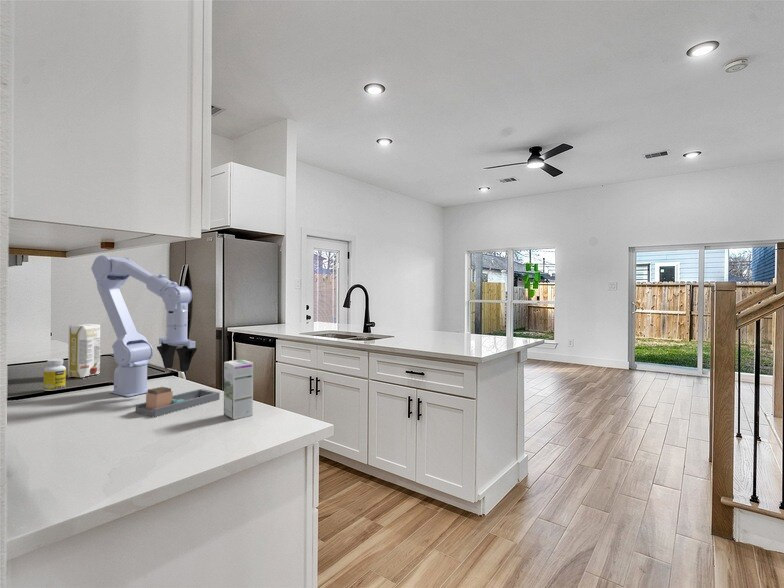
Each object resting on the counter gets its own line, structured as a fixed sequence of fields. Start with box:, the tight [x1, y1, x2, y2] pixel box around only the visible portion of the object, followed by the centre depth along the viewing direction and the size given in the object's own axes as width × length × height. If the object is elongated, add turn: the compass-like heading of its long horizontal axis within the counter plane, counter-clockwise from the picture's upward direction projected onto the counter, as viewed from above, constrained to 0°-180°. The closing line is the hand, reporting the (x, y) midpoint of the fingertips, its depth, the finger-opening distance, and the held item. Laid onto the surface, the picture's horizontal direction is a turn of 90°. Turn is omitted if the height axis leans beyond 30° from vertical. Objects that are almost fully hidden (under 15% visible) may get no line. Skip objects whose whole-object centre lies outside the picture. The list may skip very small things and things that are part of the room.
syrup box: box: [223, 359, 254, 420], centre depth 108 cm, size 6×6×14 cm
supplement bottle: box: [43, 358, 67, 389], centre depth 128 cm, size 5×5×10 cm
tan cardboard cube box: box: [145, 386, 174, 409], centre depth 110 cm, size 4×4×6 cm
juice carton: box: [67, 323, 101, 377], centre depth 148 cm, size 8×9×19 cm
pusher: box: [172, 399, 186, 404], centre depth 114 cm, size 6×5×2 cm
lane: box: [135, 388, 221, 418], centre depth 116 cm, size 8×20×2 cm, turn 153°
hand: (176, 369), depth 124 cm, fingers open, 7 cm apart
